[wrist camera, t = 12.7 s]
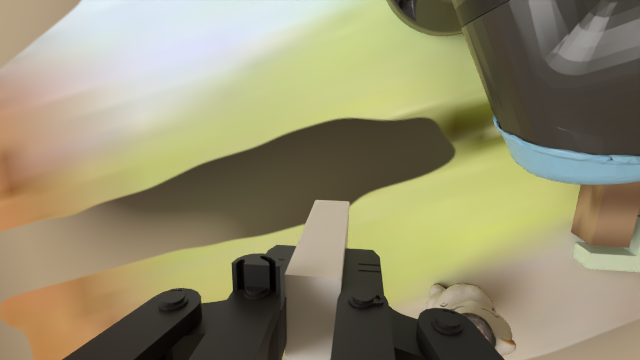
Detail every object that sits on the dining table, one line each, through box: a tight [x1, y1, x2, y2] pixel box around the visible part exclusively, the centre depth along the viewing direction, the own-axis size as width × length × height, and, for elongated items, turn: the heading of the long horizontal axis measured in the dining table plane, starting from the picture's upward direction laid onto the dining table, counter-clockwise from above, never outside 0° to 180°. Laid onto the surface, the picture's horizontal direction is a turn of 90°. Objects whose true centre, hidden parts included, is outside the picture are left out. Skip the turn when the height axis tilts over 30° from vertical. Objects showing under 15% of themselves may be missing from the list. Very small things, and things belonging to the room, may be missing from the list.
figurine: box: [427, 283, 516, 356], centre depth 40 cm, size 9×10×15 cm
